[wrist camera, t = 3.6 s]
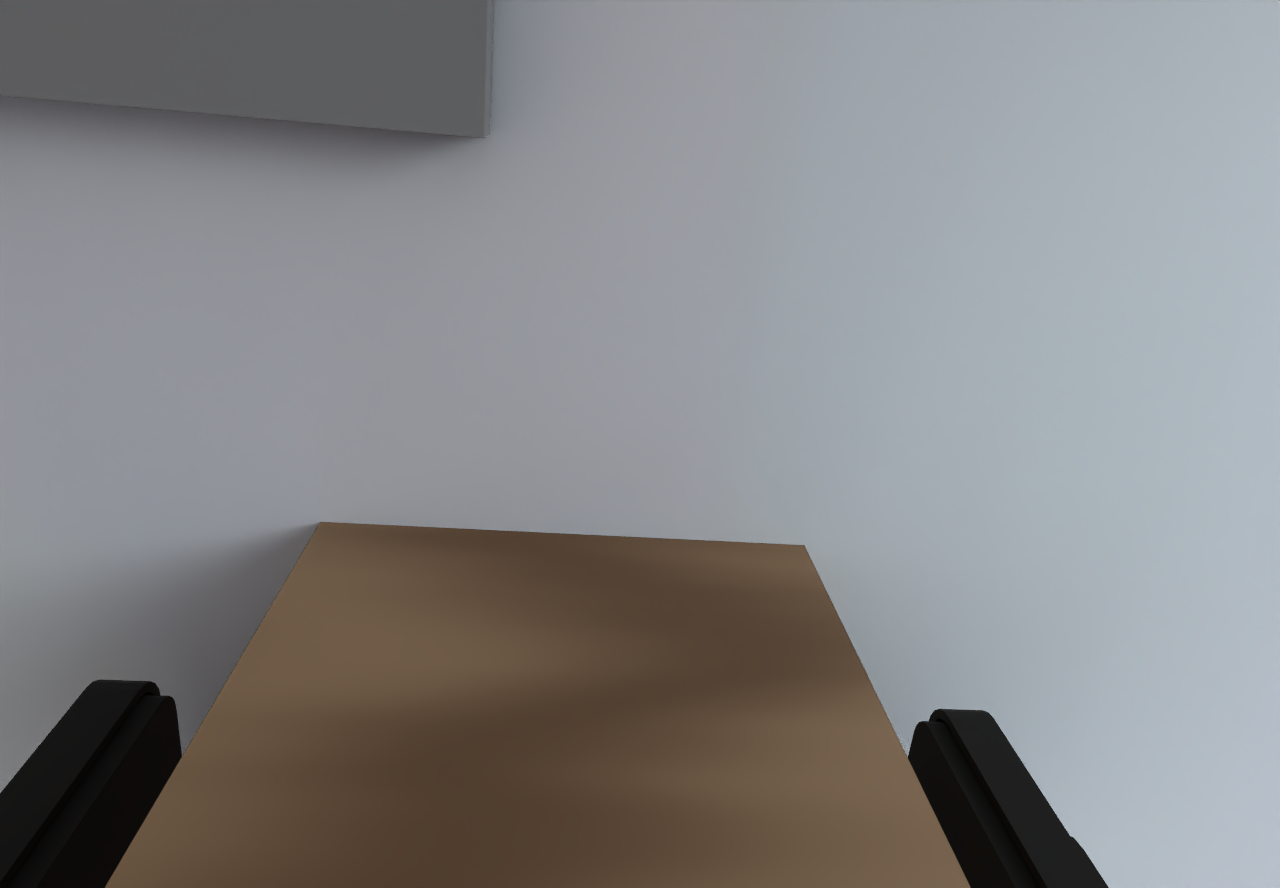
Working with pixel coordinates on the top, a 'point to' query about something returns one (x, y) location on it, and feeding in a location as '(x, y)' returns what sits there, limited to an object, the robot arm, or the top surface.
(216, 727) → the walnut block
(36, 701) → the top surface
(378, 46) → the slate coaster
